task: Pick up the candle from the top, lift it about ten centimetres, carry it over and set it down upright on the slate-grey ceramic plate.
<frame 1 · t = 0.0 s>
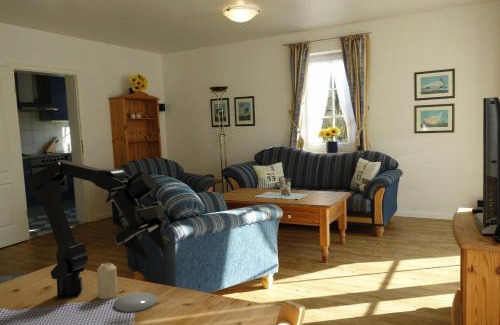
hand: (156, 254, 115), 15 cm above the table, tool tilted 35°, fingers open, 9 cm apart
slate plate: (136, 303, 118), on the table
candle: (107, 296, 124), on the table
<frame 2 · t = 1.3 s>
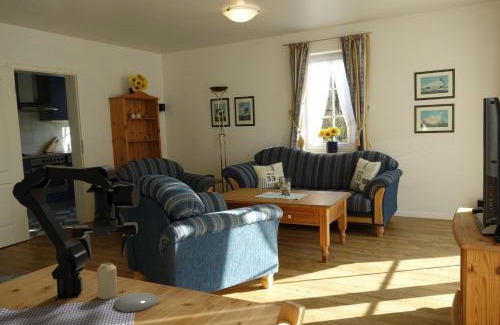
hand: (106, 257, 123), 12 cm above the table, tool pointing down, fingers open, 9 cm apart
nothing on the table moved.
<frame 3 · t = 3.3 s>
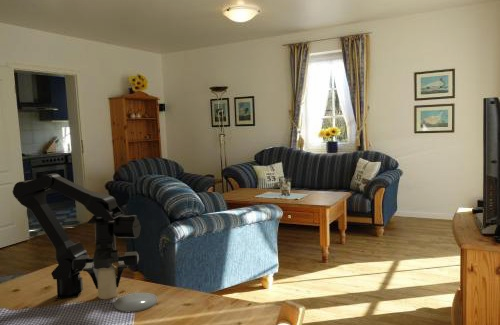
hand: (107, 287, 124), 3 cm above the table, tool pointing down, fingers closed on candle, 5 cm apart
candle: (107, 296, 124), on the table, touching gripper
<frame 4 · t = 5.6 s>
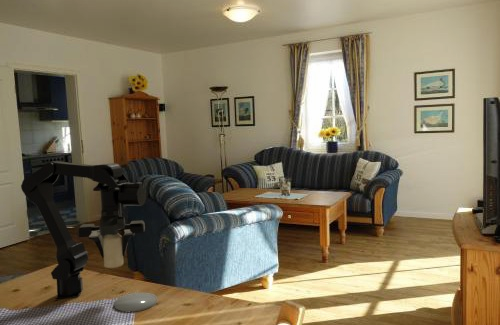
hand: (113, 256, 122), 13 cm above the table, tool pointing down, fingers closed on candle, 5 cm apart
candle: (113, 265, 122), point 10 cm above the table, touching gripper
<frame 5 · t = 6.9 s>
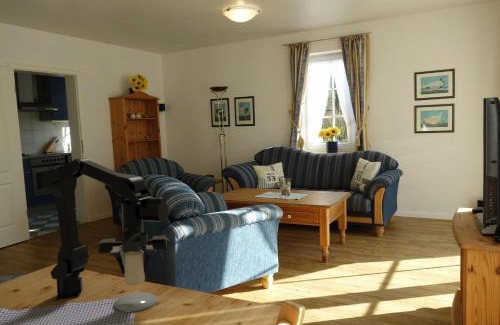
hand: (134, 273, 118), 9 cm above the table, tool pointing down, fingers closed on candle, 5 cm apart
candle: (134, 282, 118), point 6 cm above the table, touching gripper
when the fingers open (5 cm above the table, at t = 8.0 s): candle drops 1 cm, resting on slate plate.
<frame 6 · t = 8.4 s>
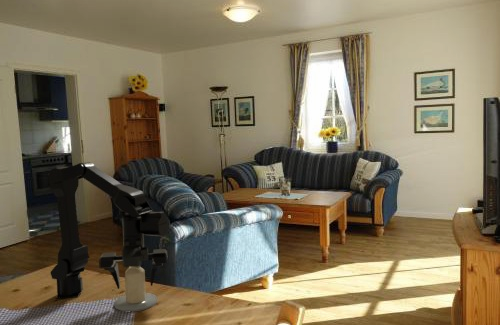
hand: (135, 287, 118), 5 cm above the table, tool pointing down, fingers open, 9 cm apart
candle: (135, 300, 118), point 1 cm above the table, touching slate plate
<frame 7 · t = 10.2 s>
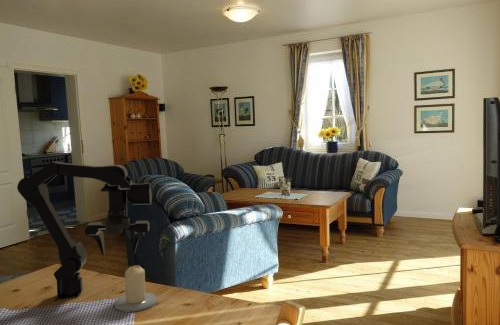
hand: (118, 254, 127), 12 cm above the table, tool pointing down, fingers open, 9 cm apart
nothing on the table moved.
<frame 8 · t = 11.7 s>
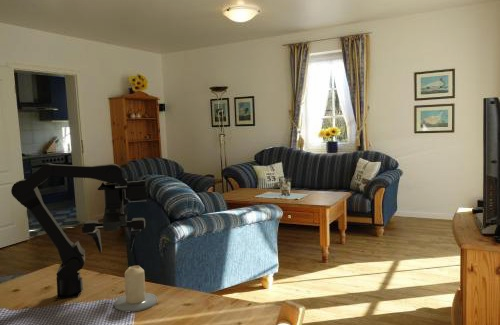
hand: (115, 251, 130), 12 cm above the table, tool pointing down, fingers open, 9 cm apart
nothing on the table moved.
at the end: candle 0.1 cm off-centre on the slate plate, point 0.6 cm above the slate plate's base; candle tilted 0°; the gripper is holding nothing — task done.
